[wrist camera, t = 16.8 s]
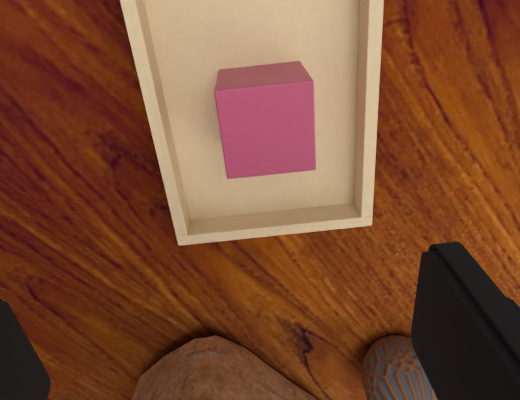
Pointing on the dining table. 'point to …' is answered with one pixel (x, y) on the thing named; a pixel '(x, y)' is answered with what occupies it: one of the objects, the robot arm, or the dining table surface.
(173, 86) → the tray
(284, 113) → the top block
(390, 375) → the vase
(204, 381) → the bread
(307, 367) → the dining table surface
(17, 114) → the dining table surface
